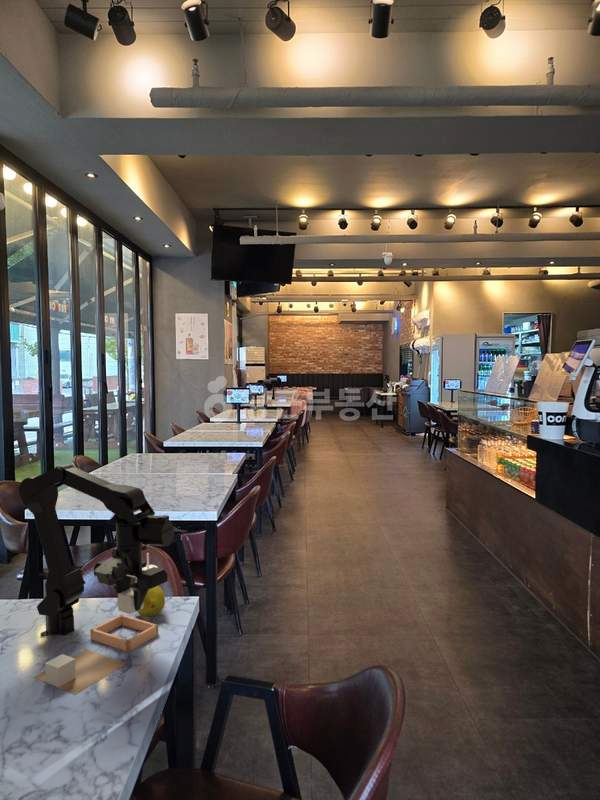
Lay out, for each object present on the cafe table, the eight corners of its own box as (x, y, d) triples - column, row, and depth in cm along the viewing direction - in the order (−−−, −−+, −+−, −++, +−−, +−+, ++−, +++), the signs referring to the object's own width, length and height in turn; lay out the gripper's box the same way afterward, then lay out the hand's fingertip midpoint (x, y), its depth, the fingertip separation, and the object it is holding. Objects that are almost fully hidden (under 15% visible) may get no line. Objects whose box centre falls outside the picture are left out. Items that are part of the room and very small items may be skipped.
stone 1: (45, 682, 109) (45, 663, 109) (63, 672, 113) (62, 654, 113) (58, 687, 107) (58, 668, 107) (75, 677, 111) (75, 658, 111)
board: (33, 681, 111) (33, 677, 111) (86, 653, 123) (86, 649, 123) (75, 699, 105) (75, 694, 105) (127, 668, 116) (126, 663, 116)
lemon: (136, 608, 147) (135, 579, 146) (165, 605, 148) (165, 577, 148) (132, 626, 136) (131, 595, 136) (164, 623, 138) (163, 592, 137)
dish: (90, 643, 128) (90, 629, 128) (121, 626, 136) (121, 614, 136) (128, 655, 122) (127, 641, 121) (158, 638, 130) (158, 624, 130)
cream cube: (118, 610, 126) (117, 593, 126) (131, 604, 130) (131, 587, 130) (130, 614, 124) (130, 597, 124) (143, 607, 128) (143, 591, 128)
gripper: (73, 546, 124) (75, 613, 125) (131, 559, 115) (133, 631, 115) (112, 534, 134) (113, 596, 134) (168, 544, 124) (169, 611, 125)
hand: (131, 608), depth 127 cm, fingers closed on cream cube, 4 cm apart
